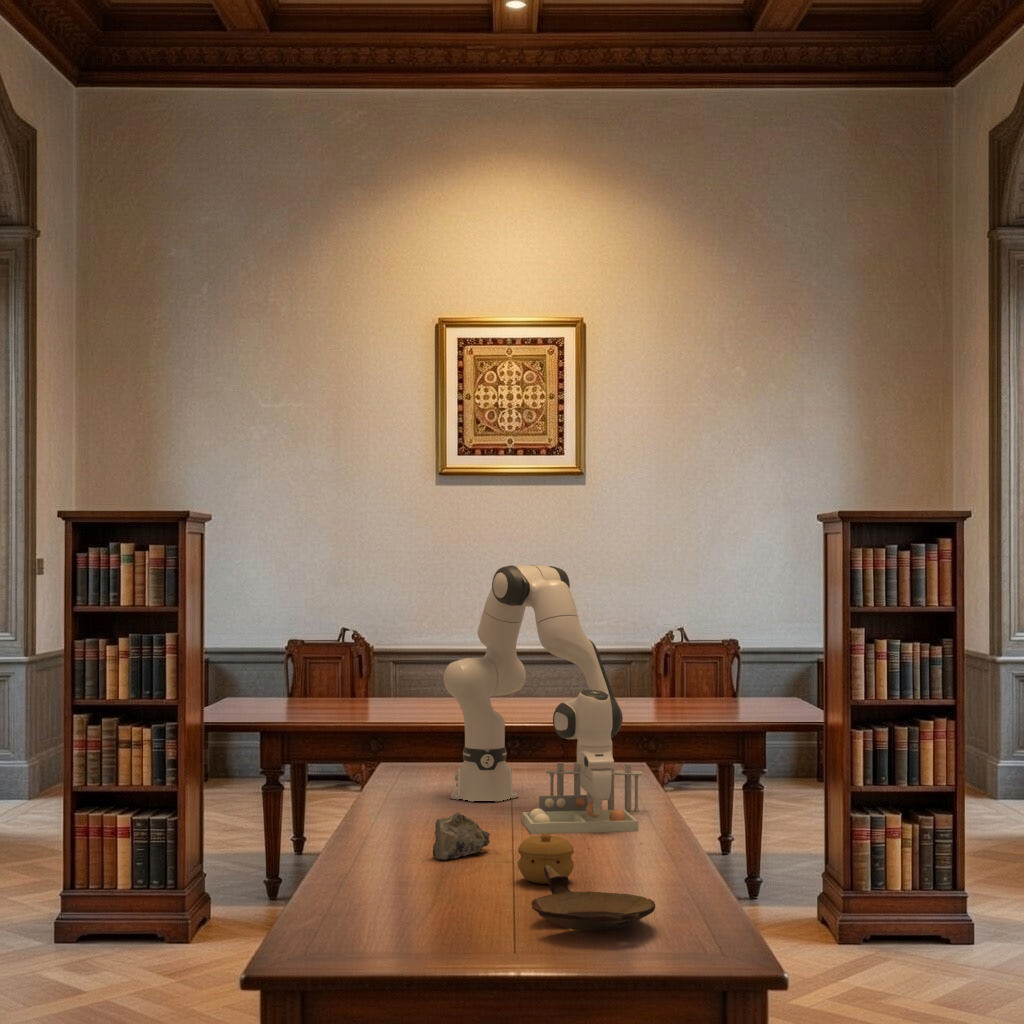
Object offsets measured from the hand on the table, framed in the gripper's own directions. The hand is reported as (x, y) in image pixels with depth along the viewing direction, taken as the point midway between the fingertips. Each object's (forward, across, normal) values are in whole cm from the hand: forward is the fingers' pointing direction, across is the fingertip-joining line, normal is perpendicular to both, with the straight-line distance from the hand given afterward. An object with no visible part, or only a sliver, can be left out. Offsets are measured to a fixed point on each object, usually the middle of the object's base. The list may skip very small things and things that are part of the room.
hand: (594, 812), depth 342 cm
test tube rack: (+4, -19, +4) cm, 20 cm away
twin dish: (+4, 0, -4) cm, 5 cm away
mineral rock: (+4, +27, -36) cm, 45 cm away
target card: (+4, -12, -4) cm, 13 cm away
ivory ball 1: (+3, -3, -14) cm, 14 cm away
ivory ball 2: (+3, +3, -14) cm, 14 cm away
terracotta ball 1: (+1, 0, 0) cm, 1 cm away
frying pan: (+4, +86, -18) cm, 88 cm away
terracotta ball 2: (+3, 0, +6) cm, 7 cm away
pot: (+4, +53, -21) cm, 57 cm away
